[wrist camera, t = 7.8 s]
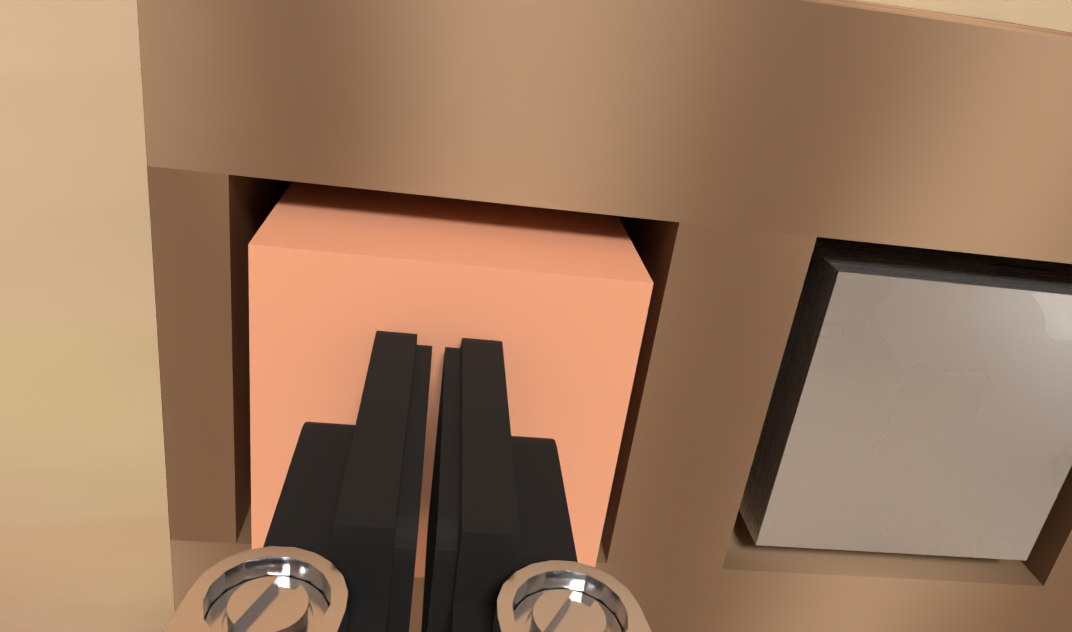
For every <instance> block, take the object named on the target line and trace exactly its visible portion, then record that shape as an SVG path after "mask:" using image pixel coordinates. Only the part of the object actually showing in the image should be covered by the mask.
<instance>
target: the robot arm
mask: <svg viewBox="0 0 1072 632" xmlns="http://www.w3.org/2000/svg"><path fill="white" fill-rule="evenodd" d="M431 359H432V346H428V345H417V334H412V333H400V332H388V331H376V334H375V339H374V343H373V348H372V353H371V357H370V362H369V366H368V371H367V375H366V380H365V384H364V389H363V393H362V398H361V402H360V407H359V412H358V416H357V421H356V425H349V424H335V423H320V422H305V423H304V425H303V427H302V429H301V432H300V435H299V439H298V442H297V445H296V448H295V451H294V454H293V457H292V460H291V463H290V466H289V469H288V472H287V475H286V478H285V481H284V484H283V488H282V491H281V494H280V497H279V500H278V503H277V506H276V509H275V512H274V515H273V518H272V521H271V524H270V527H269V530H268V533H267V536H266V540H265V543H264V546H263V548H256V549H250V550H246V551H243V552H240V553H238V554H235V555H232V556H230V557H227V558H225V559H223V560H222V561H220V562H218V563H217V564H215V565H214V566H212V567H211V568H209V569H208V570H206V571H205V572H204V573H203V574H202V575H201V577H200V578H199V579H198V580H197V581H196V582H195V583H194V584H193V586H192V587H191V588H190V590H189V591H188V593H187V594H186V596H185V598H184V599H183V601H182V602H181V604H180V605H179V607H178V609H177V610H176V612H175V613H174V615H173V616H172V618H171V619H170V621H169V623H168V624H167V626H166V627H165V629H164V630H163V632H409V627H410V616H411V605H412V594H413V583H414V572H415V562H416V551H417V539H418V527H419V515H420V502H421V489H422V476H423V463H424V450H425V437H426V424H427V411H428V398H429V385H430V372H431ZM421 632H652V631H651V629H650V627H649V625H648V623H647V620H646V618H645V616H644V614H643V612H642V609H641V607H640V605H639V604H638V602H637V601H636V599H635V598H634V596H633V595H632V593H631V592H630V590H628V589H627V588H626V587H625V586H624V585H623V584H621V583H620V582H619V581H618V580H617V579H616V578H614V577H613V576H611V575H609V574H607V573H605V572H603V571H601V570H599V569H598V568H596V567H593V566H589V565H585V564H582V563H578V561H577V555H576V550H575V544H574V539H573V533H572V527H571V522H570V516H569V511H568V505H567V500H566V494H565V489H564V483H563V477H562V472H561V466H560V461H559V455H558V450H557V445H556V442H555V440H554V439H551V438H537V437H522V436H511V428H510V418H509V407H508V396H507V386H506V375H505V364H504V354H503V343H502V341H495V340H483V339H471V338H462V340H461V347H460V348H452V347H445V353H444V363H443V373H442V384H441V394H440V404H439V414H438V424H437V435H436V445H435V455H434V465H433V476H432V486H431V496H430V506H429V517H428V530H427V545H426V561H425V577H424V594H423V610H422V626H421Z"/></svg>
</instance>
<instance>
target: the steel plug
mask: <svg viewBox="0 0 1072 632" xmlns="http://www.w3.org/2000/svg"><path fill="white" fill-rule="evenodd" d="M1071 466H1072V264H1068V263H1058V262H1049V261H1040V260H1030V259H1021V258H1011V257H1002V256H992V255H983V254H973V253H964V252H955V251H945V250H936V249H926V248H917V247H907V246H898V245H888V244H879V243H870V242H860V241H851V240H841V239H832V238H822V237H817V239H816V242H815V246H814V249H813V253H812V256H811V260H810V263H809V267H808V270H807V274H806V277H805V281H804V284H803V288H802V291H801V295H800V298H799V302H798V305H797V309H796V312H795V316H794V319H793V323H792V326H791V329H790V333H789V336H788V340H787V343H786V347H785V350H784V354H783V357H782V361H781V364H780V368H779V371H778V375H777V378H776V382H775V385H774V389H773V392H772V396H771V399H770V403H769V406H768V410H767V413H766V417H765V420H764V424H763V427H762V431H761V434H760V438H759V441H758V445H757V448H756V452H755V455H754V459H753V462H752V465H751V469H750V472H749V476H748V479H747V483H746V486H745V490H744V493H743V497H742V500H741V504H740V507H739V511H740V513H741V515H742V517H743V519H744V521H745V523H746V526H747V528H748V530H749V532H750V534H751V536H752V538H753V540H754V543H755V545H762V546H779V547H797V548H814V549H832V550H850V551H867V552H885V553H902V554H920V555H937V556H955V557H972V558H990V559H1008V560H1025V561H1026V560H1027V558H1028V556H1029V554H1030V552H1031V550H1032V548H1033V546H1034V544H1035V541H1036V539H1037V537H1038V535H1039V533H1040V531H1041V529H1042V527H1043V525H1044V523H1045V520H1046V518H1047V516H1048V514H1049V512H1050V510H1051V508H1052V506H1053V504H1054V502H1055V499H1056V497H1057V495H1058V493H1059V491H1060V489H1061V487H1062V485H1063V483H1064V481H1065V479H1066V476H1067V474H1068V472H1069V470H1070V468H1071Z"/></svg>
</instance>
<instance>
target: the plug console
mask: <svg viewBox="0 0 1072 632" xmlns="http://www.w3.org/2000/svg"><path fill="white" fill-rule="evenodd" d="M137 10H138V26H139V42H140V59H141V75H142V91H143V107H144V123H145V140H146V156H147V172H148V188H149V204H150V221H151V237H152V253H153V269H154V285H155V302H156V318H157V334H158V350H159V366H160V383H161V399H162V415H163V431H164V447H165V464H166V480H167V496H168V512H169V528H170V545H171V561H172V577H173V593H174V609H175V612H176V610H177V609H178V607H179V605H180V604H181V602H182V601H183V599H184V598H185V596H186V594H187V593H188V591H189V590H190V588H191V587H192V586H193V584H194V583H195V582H196V581H197V580H198V579H199V578H200V577H201V575H202V574H203V573H204V572H205V571H206V570H208V569H209V568H211V567H212V566H214V565H215V564H217V563H218V562H220V561H222V560H223V559H225V558H227V557H230V556H232V555H235V554H238V553H240V552H243V551H246V550H250V549H252V534H251V444H250V354H249V264H248V244H249V242H250V241H251V240H252V238H253V237H254V235H255V234H256V233H257V231H258V230H259V228H260V227H261V225H262V224H263V223H264V221H265V220H266V218H267V217H268V216H269V214H270V213H271V211H272V210H273V208H274V207H275V206H276V204H277V203H278V201H279V200H280V199H281V197H282V196H283V194H284V193H285V191H286V190H287V189H288V187H289V186H290V184H291V183H292V182H293V181H294V182H303V183H313V184H322V185H331V186H341V187H350V188H360V189H369V190H379V191H388V192H397V193H407V194H416V195H426V196H435V197H445V198H454V199H464V200H473V201H482V202H492V203H501V204H511V205H520V206H530V207H539V208H549V209H558V210H567V211H577V212H586V213H596V214H605V215H615V216H618V217H619V219H620V221H621V223H622V225H623V227H624V228H625V230H626V232H627V234H628V236H629V238H630V240H631V242H632V243H633V245H634V247H635V249H636V251H637V253H638V255H639V257H640V258H641V260H642V262H643V264H644V266H645V268H646V270H647V272H648V274H649V275H650V277H651V279H652V281H653V283H654V284H653V289H652V294H651V298H650V303H649V308H648V313H647V318H646V323H645V328H644V332H643V337H642V342H641V347H640V352H639V357H638V361H637V366H636V371H635V376H634V381H633V386H632V391H631V395H630V400H629V405H628V410H627V415H626V420H625V425H624V429H623V434H622V439H621V444H620V449H619V454H618V458H617V463H616V468H615V473H614V478H613V483H612V488H611V492H610V497H609V502H608V507H607V512H606V517H605V522H604V526H603V531H602V536H601V541H600V546H599V551H598V555H597V560H596V565H595V567H596V568H598V569H599V570H601V571H603V572H605V573H607V574H609V575H611V576H613V577H614V578H616V579H617V580H618V581H619V582H620V583H621V584H623V585H624V586H625V587H626V588H627V589H628V590H630V592H631V593H632V595H633V596H634V598H635V599H636V601H637V602H638V604H639V605H640V607H641V609H642V612H643V614H644V616H645V618H646V620H647V623H648V625H649V627H650V629H651V631H652V632H1072V466H1071V468H1070V470H1069V472H1068V474H1067V476H1066V479H1065V481H1064V483H1063V485H1062V487H1061V489H1060V491H1059V493H1058V495H1057V497H1056V499H1055V502H1054V504H1053V506H1052V508H1051V510H1050V512H1049V514H1048V516H1047V518H1046V520H1045V523H1044V525H1043V527H1042V529H1041V531H1040V533H1039V535H1038V537H1037V539H1036V541H1035V544H1034V546H1033V548H1032V550H1031V552H1030V554H1029V556H1028V558H1027V560H1026V561H1025V560H1008V559H990V558H972V557H955V556H937V555H920V554H902V553H885V552H867V551H850V550H832V549H814V548H797V547H779V546H762V545H755V543H754V540H753V538H752V536H751V534H750V532H749V530H748V528H747V526H746V523H745V521H744V519H743V517H742V515H741V513H740V511H739V507H740V504H741V500H742V497H743V493H744V490H745V486H746V483H747V479H748V476H749V472H750V469H751V465H752V462H753V459H754V455H755V452H756V448H757V445H758V441H759V438H760V434H761V431H762V427H763V424H764V420H765V417H766V413H767V410H768V406H769V403H770V399H771V396H772V392H773V389H774V385H775V382H776V378H777V375H778V371H779V368H780V364H781V361H782V357H783V354H784V350H785V347H786V343H787V340H788V336H789V333H790V329H791V326H792V323H793V319H794V316H795V312H796V309H797V305H798V302H799V298H800V295H801V291H802V288H803V284H804V281H805V277H806V274H807V270H808V267H809V263H810V260H811V256H812V253H813V249H814V246H815V242H816V239H817V237H822V238H832V239H841V240H851V241H860V242H870V243H879V244H888V245H898V246H907V247H917V248H926V249H936V250H945V251H955V252H964V253H973V254H983V255H992V256H1002V257H1011V258H1021V259H1030V260H1040V261H1049V262H1058V263H1068V264H1072V33H1070V32H1064V31H1058V30H1052V29H1046V28H1040V27H1034V26H1028V25H1022V24H1015V23H1009V22H1002V21H995V20H988V19H981V18H974V17H967V16H960V15H953V14H946V13H939V12H933V11H926V10H919V9H912V8H905V7H898V6H891V5H884V4H877V3H870V2H863V1H856V0H137ZM423 594H424V578H419V577H414V583H413V594H412V605H411V616H410V627H409V632H421V626H422V610H423Z"/></svg>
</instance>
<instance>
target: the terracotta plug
mask: <svg viewBox="0 0 1072 632" xmlns="http://www.w3.org/2000/svg"><path fill="white" fill-rule="evenodd" d="M248 264H249V354H250V444H251V534H252V549H256V548H263V546H264V543H265V540H266V536H267V533H268V530H269V527H270V524H271V521H272V518H273V515H274V512H275V509H276V506H277V503H278V500H279V497H280V494H281V491H282V488H283V484H284V481H285V478H286V475H287V472H288V469H289V466H290V463H291V460H292V457H293V454H294V451H295V448H296V445H297V442H298V439H299V435H300V432H301V429H302V427H303V425H304V423H305V422H320V423H335V424H349V425H356V421H357V416H358V412H359V407H360V402H361V398H362V393H363V389H364V384H365V380H366V375H367V371H368V366H369V362H370V357H371V353H372V348H373V343H374V339H375V334H376V331H388V332H400V333H412V334H417V345H428V346H432V359H431V372H430V385H429V398H428V411H427V424H426V437H425V450H424V463H423V476H422V489H421V502H420V515H419V527H418V539H417V551H416V562H415V572H414V577H419V578H424V577H425V561H426V545H427V530H428V517H429V506H430V496H431V486H432V476H433V465H434V455H435V445H436V435H437V424H438V414H439V404H440V394H441V384H442V373H443V363H444V353H445V347H452V348H460V347H461V340H462V338H471V339H483V340H495V341H502V343H503V354H504V364H505V375H506V386H507V396H508V407H509V418H510V428H511V436H522V437H537V438H551V439H554V440H555V442H556V445H557V450H558V455H559V461H560V466H561V472H562V477H563V483H564V489H565V494H566V500H567V505H568V511H569V516H570V522H571V527H572V533H573V539H574V544H575V550H576V555H577V561H578V563H582V564H585V565H589V566H593V567H595V565H596V560H597V555H598V551H599V546H600V541H601V536H602V531H603V526H604V522H605V517H606V512H607V507H608V502H609V497H610V492H611V488H612V483H613V478H614V473H615V468H616V463H617V458H618V454H619V449H620V444H621V439H622V434H623V429H624V425H625V420H626V415H627V410H628V405H629V400H630V395H631V391H632V386H633V381H634V376H635V371H636V366H637V361H638V357H639V352H640V347H641V342H642V337H643V332H644V328H645V323H646V318H647V313H648V308H649V303H650V298H651V294H652V289H653V284H654V283H653V281H652V279H651V277H650V275H649V274H648V272H647V270H646V268H645V266H644V264H643V262H642V260H641V258H640V257H639V255H638V253H637V251H636V249H635V247H634V245H633V243H632V242H631V240H630V238H629V236H628V234H627V232H626V230H625V228H624V227H623V225H622V223H621V221H620V219H619V217H618V216H615V215H605V214H596V213H586V212H577V211H567V210H558V209H549V208H539V207H530V206H520V205H511V204H501V203H492V202H482V201H473V200H464V199H454V198H445V197H435V196H426V195H416V194H407V193H397V192H388V191H379V190H369V189H360V188H350V187H341V186H331V185H322V184H313V183H303V182H294V181H293V182H292V183H291V184H290V186H289V187H288V189H287V190H286V191H285V193H284V194H283V196H282V197H281V199H280V200H279V201H278V203H277V204H276V206H275V207H274V208H273V210H272V211H271V213H270V214H269V216H268V217H267V218H266V220H265V221H264V223H263V224H262V225H261V227H260V228H259V230H258V231H257V233H256V234H255V235H254V237H253V238H252V240H251V241H250V242H249V244H248Z"/></svg>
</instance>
